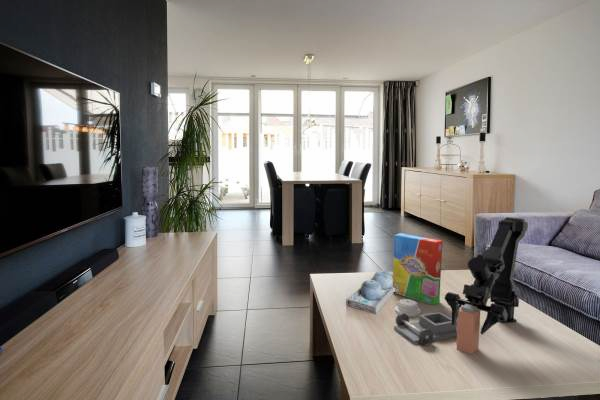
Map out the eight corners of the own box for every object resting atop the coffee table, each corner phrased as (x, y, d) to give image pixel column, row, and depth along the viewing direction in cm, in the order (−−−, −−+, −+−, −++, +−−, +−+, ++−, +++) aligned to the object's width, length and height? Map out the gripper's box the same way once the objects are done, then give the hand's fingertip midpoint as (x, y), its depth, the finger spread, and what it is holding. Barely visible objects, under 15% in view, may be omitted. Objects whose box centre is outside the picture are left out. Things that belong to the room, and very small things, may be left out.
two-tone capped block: (463, 343, 130) (465, 302, 128) (478, 348, 126) (480, 306, 125) (456, 348, 127) (458, 306, 125) (472, 354, 123) (474, 311, 121)
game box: (391, 293, 178) (393, 234, 175) (398, 290, 182) (400, 232, 179) (434, 305, 163) (436, 241, 160) (440, 302, 166) (442, 239, 163)
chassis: (441, 319, 149) (442, 306, 149) (470, 335, 135) (470, 322, 135) (391, 327, 142) (392, 314, 142) (416, 346, 128) (417, 331, 128)
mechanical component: (395, 316, 153) (421, 318, 151) (395, 305, 152) (421, 307, 150) (394, 306, 162) (419, 308, 160) (394, 296, 162) (419, 298, 160)
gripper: (448, 269, 133) (431, 308, 127) (506, 281, 120) (491, 326, 113) (457, 285, 139) (441, 324, 133) (513, 299, 126) (499, 343, 120)
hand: (466, 329), depth 125 cm, fingers open, 9 cm apart
